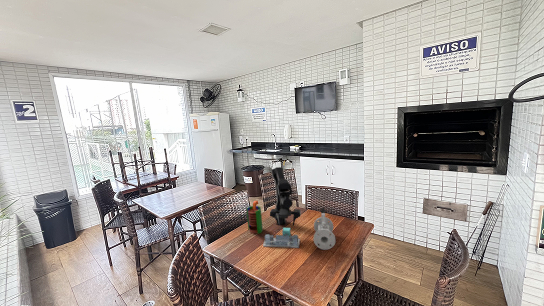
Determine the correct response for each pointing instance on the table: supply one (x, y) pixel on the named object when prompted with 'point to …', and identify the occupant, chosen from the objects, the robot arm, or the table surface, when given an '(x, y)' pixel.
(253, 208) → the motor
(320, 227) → the valve
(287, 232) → the coupler
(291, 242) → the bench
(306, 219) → the table surface
